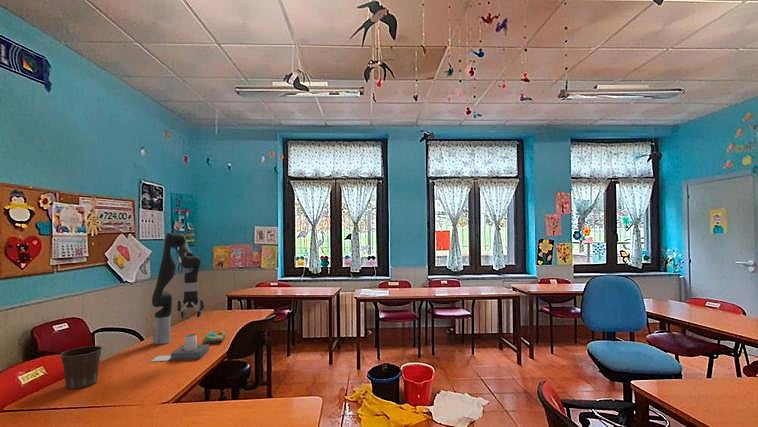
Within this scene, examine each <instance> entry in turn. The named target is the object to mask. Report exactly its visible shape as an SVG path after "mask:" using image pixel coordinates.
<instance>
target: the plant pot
mask: <svg viewBox="0 0 758 427" xmlns="http://www.w3.org/2000/svg"><path fill="white" fill-rule="evenodd" d="M102 350H103V347H102V346H98V345H89V346H82V347H76V348H72V349H69V350H65V351H62V352H61V353H60V354H59V356H60V357H61V364H62V366H63V374H64V382H65V388H66V389H67V390H78V389H83V388H85V387H90V386H92V385H94V384H96V383H97V382H98V376H99V364H100V357H101V355H102V353H101V352H102Z"/></svg>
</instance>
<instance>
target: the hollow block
mask: <svg viewBox="0 0 758 427" xmlns="http://www.w3.org/2000/svg"><path fill="white" fill-rule="evenodd" d="M184 347H185V344H184V345H180V346H179V347H177V349H175V350H174V351H172V352H171V353H170V356H171V359H170V361H172V362H174V361H175V362H176V361H188V360H189V361H190V360H191V361H192V360H201V359H202V358H203V357H204V356H205V355H206V354H207V353H208V352H209V351H210V343H207V344H206V343H205V344H197V349H196V350H193V351H184Z"/></svg>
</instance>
